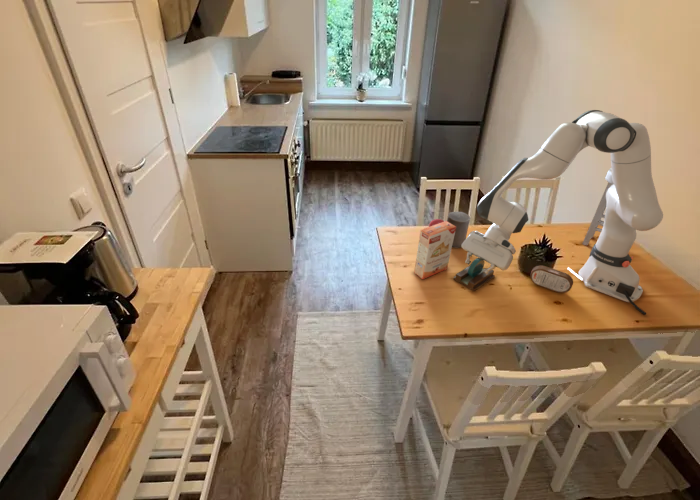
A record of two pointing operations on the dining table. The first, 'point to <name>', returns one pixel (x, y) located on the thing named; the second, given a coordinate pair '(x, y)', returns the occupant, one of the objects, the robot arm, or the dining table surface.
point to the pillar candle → (459, 227)
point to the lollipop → (435, 222)
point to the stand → (473, 279)
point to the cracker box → (434, 249)
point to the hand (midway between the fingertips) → (475, 268)
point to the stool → (599, 212)
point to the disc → (476, 267)
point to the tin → (551, 279)
